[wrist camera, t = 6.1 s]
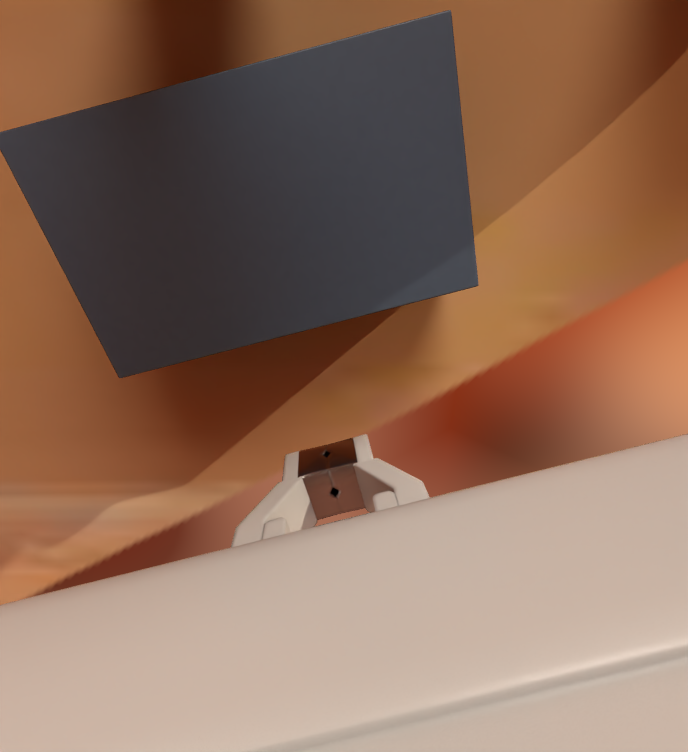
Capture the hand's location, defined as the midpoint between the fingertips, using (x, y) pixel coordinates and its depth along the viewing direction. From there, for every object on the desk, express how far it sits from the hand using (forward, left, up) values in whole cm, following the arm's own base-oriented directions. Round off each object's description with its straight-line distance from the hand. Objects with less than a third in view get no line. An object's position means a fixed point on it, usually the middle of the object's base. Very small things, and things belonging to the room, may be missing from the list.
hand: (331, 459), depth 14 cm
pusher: (0, -8, -4) cm, 9 cm away
